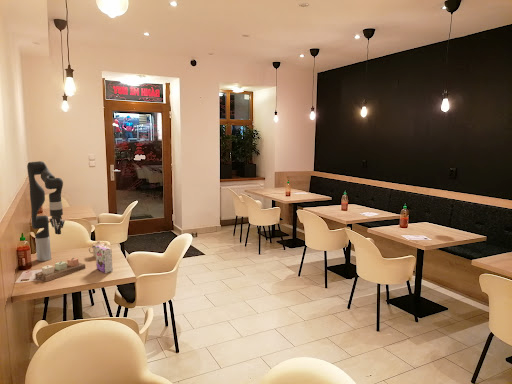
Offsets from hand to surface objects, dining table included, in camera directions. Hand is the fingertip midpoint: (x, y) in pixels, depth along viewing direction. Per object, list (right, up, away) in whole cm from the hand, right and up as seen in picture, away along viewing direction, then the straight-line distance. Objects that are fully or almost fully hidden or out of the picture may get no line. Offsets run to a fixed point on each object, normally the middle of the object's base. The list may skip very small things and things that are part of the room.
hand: (58, 233), depth 255 cm
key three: (+5, -23, +11) cm, 26 cm away
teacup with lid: (+9, -22, +41) cm, 47 cm away
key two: (0, -24, +3) cm, 24 cm away
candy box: (+27, -26, +9) cm, 39 cm away
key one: (-4, -25, -4) cm, 26 cm away
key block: (0, -27, +4) cm, 27 cm away
